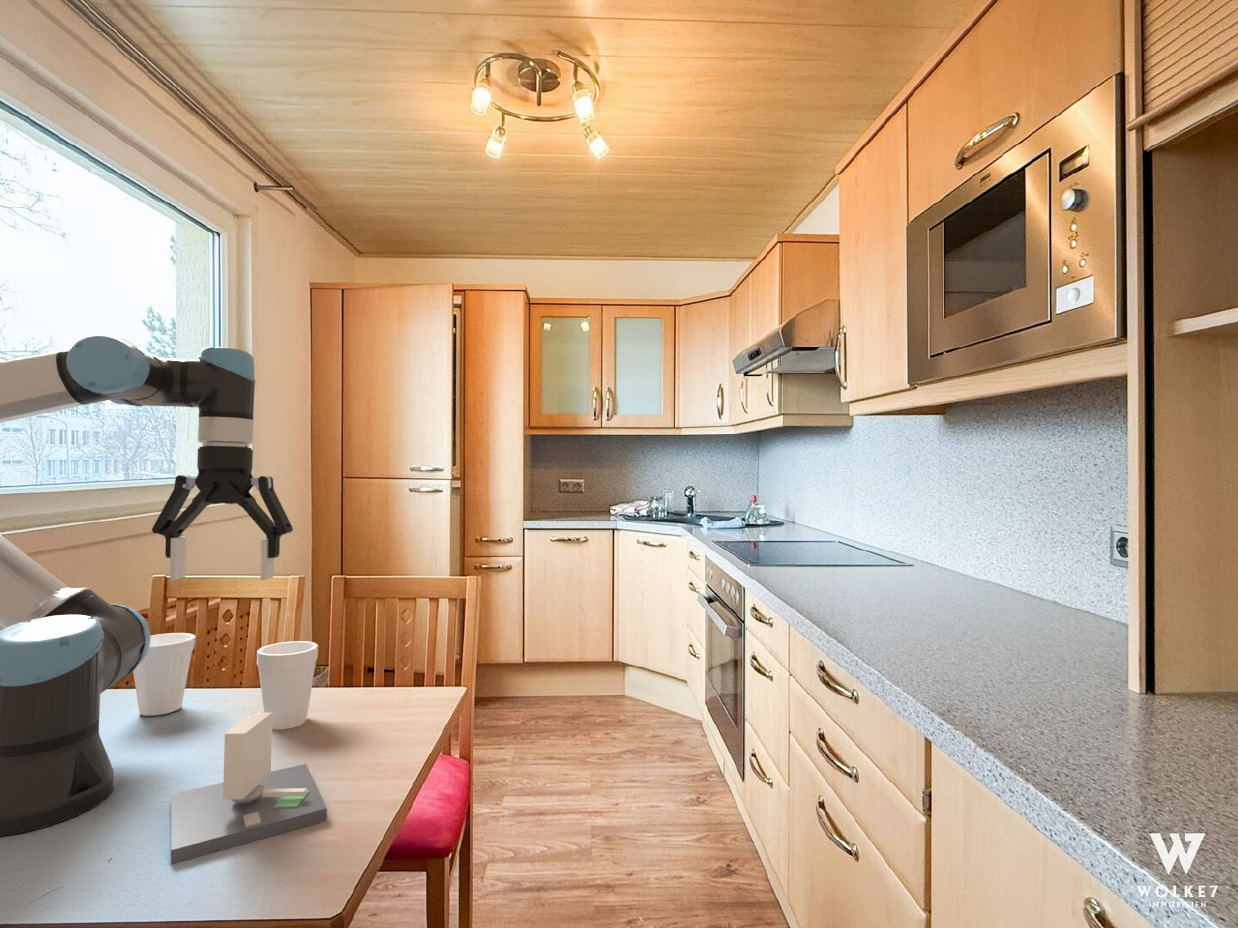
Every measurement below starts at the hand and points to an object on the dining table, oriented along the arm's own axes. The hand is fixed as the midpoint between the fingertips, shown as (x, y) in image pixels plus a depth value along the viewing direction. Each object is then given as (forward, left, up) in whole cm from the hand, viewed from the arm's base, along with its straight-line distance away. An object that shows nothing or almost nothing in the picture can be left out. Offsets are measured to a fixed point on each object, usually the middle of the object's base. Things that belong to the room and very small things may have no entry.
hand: (222, 578), depth 101 cm
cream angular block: (+4, -26, -25) cm, 37 cm away
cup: (-8, +24, -27) cm, 37 cm away
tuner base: (+2, -25, -27) cm, 36 cm away
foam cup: (+10, +6, -27) cm, 29 cm away
